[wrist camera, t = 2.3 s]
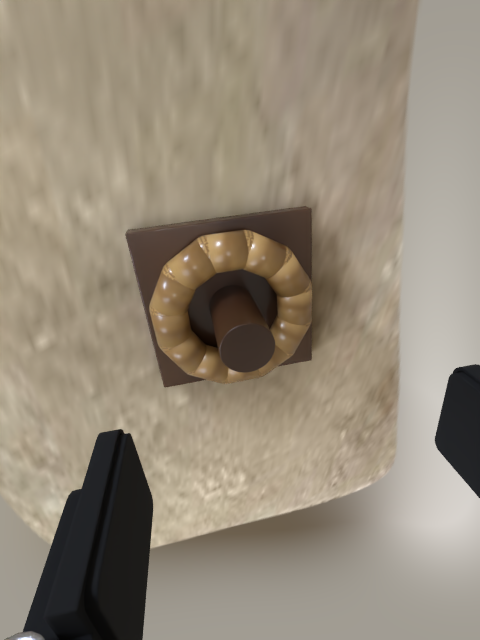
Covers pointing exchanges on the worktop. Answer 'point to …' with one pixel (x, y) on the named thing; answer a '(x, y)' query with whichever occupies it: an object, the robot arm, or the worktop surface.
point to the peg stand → (225, 289)
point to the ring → (227, 256)
